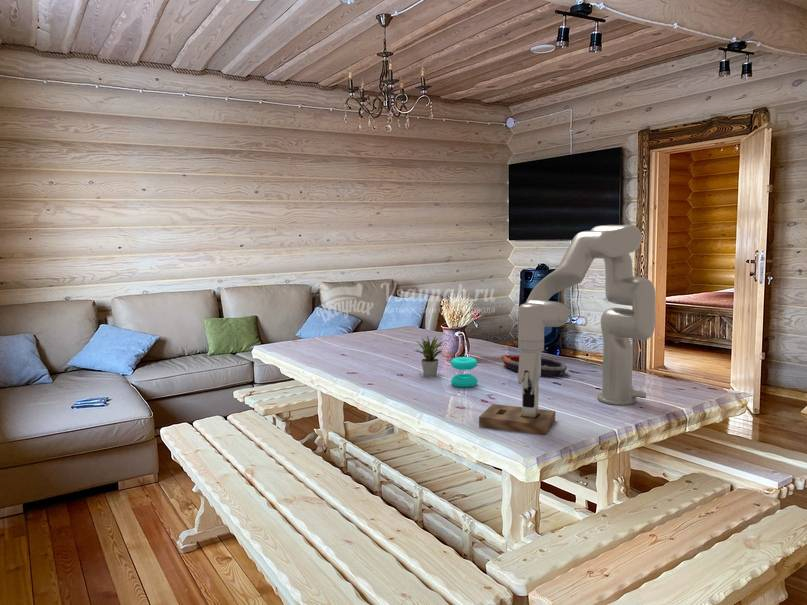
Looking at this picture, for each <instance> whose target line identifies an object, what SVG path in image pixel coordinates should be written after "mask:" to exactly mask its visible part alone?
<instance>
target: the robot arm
mask: <svg viewBox="0 0 807 605" xmlns="http://www.w3.org/2000/svg"><path fill="white" fill-rule="evenodd" d="M642 240H643V235H642V232H641V230H640V229H639V227H637V226H635V225H632V224H605V225H603V224H602V225H596V226H594V227H592V228H591V229H590V230H584V231H580V232H578V233H577V234H575V235H574V237H573V238H572V240H571V242H570V244H569V246H568V248H567V249H566V251H565V253H564V255H563V256H562V259H561V260H560V263H559V265H558V266H557V268H556V269H555V270H554V271H552V272H550V273H549V274H547V275H546V276H545V277H543V279H541V280H540V281H538V282H537V283H536V284H535V285H534V287H533V288H532V289H531V291H530V293H529V295H528V297H527V299H526V302H525V303H523V304H522V303H521V304H520V305H519V307H518V318H517V319H518V320H517V321H518V325H517V326H518V327H517V328H518V329H517V330H518V331H517V332H518V333H517V334H518V336H517V339H518V341H517V344H518V345H517V350H518V351H519V356H520V357H519V370H518V371H517V383H518V384H519V385H522V382H523V381H524V383H523V407H530V408H533V407H534V394H533V385H534V384H535V383H536V382H537V381H538V380H540V379H541V376H542V375H541V358H542V352H544V351H545V328H552V327H553V328H558V327H562V326H563V325H565V324H566V323H567V322H568V321H569V318H570V310H569V308H568V306H566V305H565V304H564V303H562V302H559V301H552V300H550V299H551V298H552V296H554V295H556V294H557V293H559V292H561V291H564V290H566V289H569V288H572V287H574V286H577V285H579V284H581V283H582V281H584V279H585V277H586V275H587V273H588V272H589V269H590V266H591V265H592V263H593V262H594V260H595V259H602V260H603V262H604V268H605V274H604V275H605V276H604V278H605V283H604V285H605V288H604V289H605V298H606V300H607V301H608V302H609V303H611V304H615V305H621V306H629V307H632V308H633V309H630V308H625V307H624V308H623V307H611V308H608V309H606V310H604V312H603V313H602V314H601V317H600V327H601V328H600V329H601V333H602V334H601V335H602V344H603V345H602V347H603V348H602V349H603V350H602V351H603V352H602V388H601V389H602V392H600V393H598V394H597V400H598V401H600V402H602V403H605V404H609V405H617V406H625V405H632V404H636V402H637V400H638V399H637V398H640V399H646V398H647V393H646V392H644V391H643V390H636V389H634V388H635V387H634V386H633V367H634V366H633V364H634V363H633V362H634V349H633V344H632V342H631V340H638V341H647V340H648V339H650V338H651V337H652V336H653V334H654V332H655V328H656V327H655V326H656V302H657V301H656V296H657V295H656V289H655V288H656V287H655V286H654V283H653V282H652V280H650V279H648V278H645V277H643V276H642V277H641V276H640V277H639V276H634V274H633V273H634V272H633V259H632V257H631V255H630V254H631V253H634V252H635V251H637V250H638V249H639V248H640V246H641V244H642ZM523 379H524V380H523ZM522 380H523V381H522ZM529 382H531V384H528V383H529ZM529 386H531V388H530V387H529Z"/></svg>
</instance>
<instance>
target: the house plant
mask: <svg viewBox="0 0 807 605" xmlns="http://www.w3.org/2000/svg"><path fill="white" fill-rule="evenodd" d="M426 337H427V339H426V340H425V339H424V338H423V337H421V340H422V342H421V343H420V342H419V341H416V343H417V344H418V345H419V346H420V347H421V349H422V350H421V351H420V350H415V351H413V352H415V353H420V354H422V355H423V357H424V358H422V359H421V367H422V371H423V376H425V377H436V376H437V373H438V368H439V359H438V358H436V357H437V356H438V355H439V354H441V355H443V356H444V353H443V348H441V349H438V348H440V347H441V346H445V345H446V344H444V343H445V342H446V341H447V339H445V340H442V341H439V342H438V339H439V337H436V336H434V337H433V338H432V341H430V339H429V336H428V335H426Z"/></svg>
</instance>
